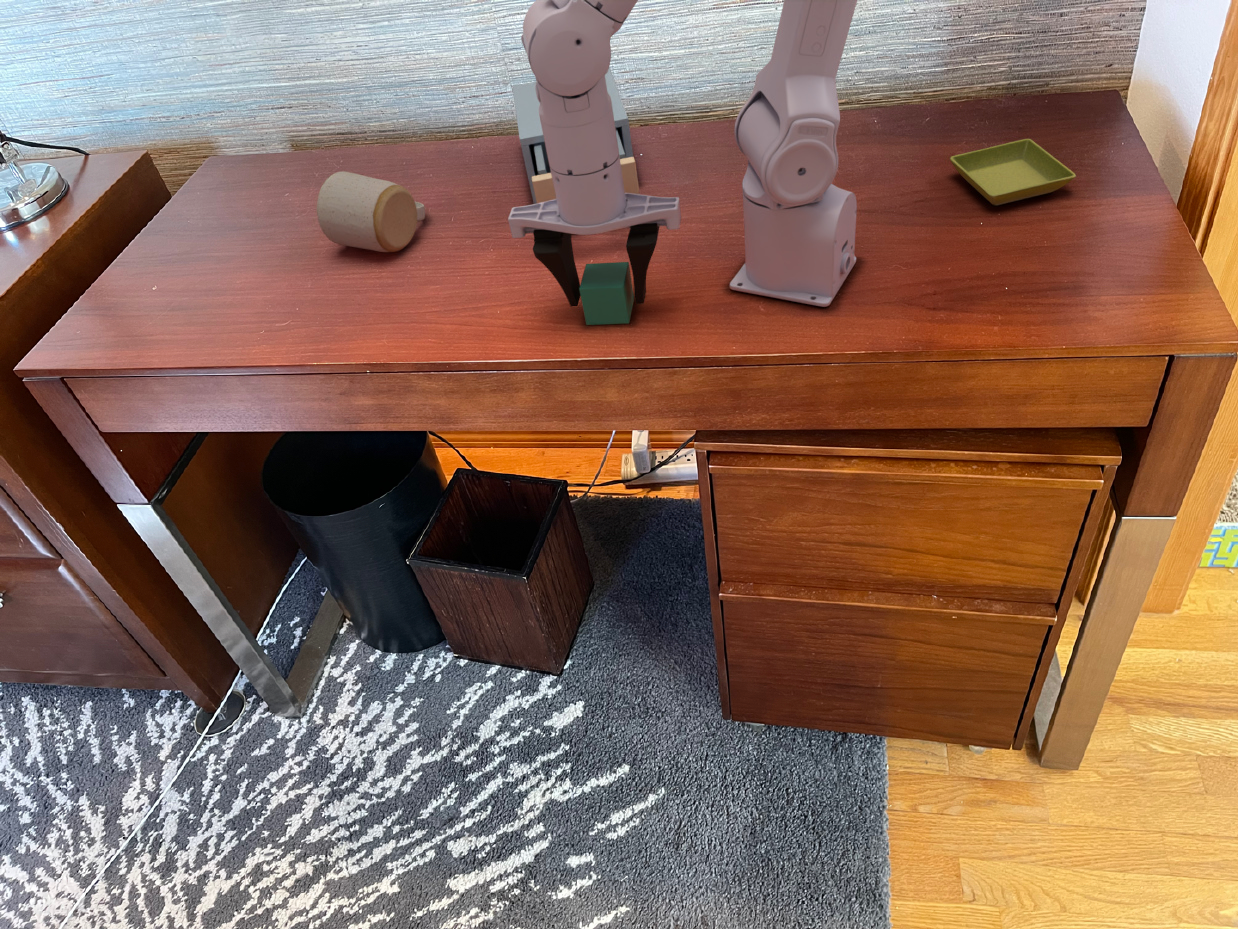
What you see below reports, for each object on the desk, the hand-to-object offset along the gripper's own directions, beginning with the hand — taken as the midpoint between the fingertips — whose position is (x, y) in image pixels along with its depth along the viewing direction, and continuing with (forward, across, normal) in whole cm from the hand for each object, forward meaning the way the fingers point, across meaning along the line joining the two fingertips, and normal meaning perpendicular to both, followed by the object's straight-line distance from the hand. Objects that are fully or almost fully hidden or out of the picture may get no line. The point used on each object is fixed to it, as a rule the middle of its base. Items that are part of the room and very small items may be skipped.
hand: (608, 298), depth 82 cm
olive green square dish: (+2, -38, -19) cm, 42 cm away
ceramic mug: (+2, +27, -16) cm, 31 cm away
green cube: (+1, 0, 0) cm, 1 cm away
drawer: (0, +5, -19) cm, 19 cm away
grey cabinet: (+1, +8, -29) cm, 30 cm away
